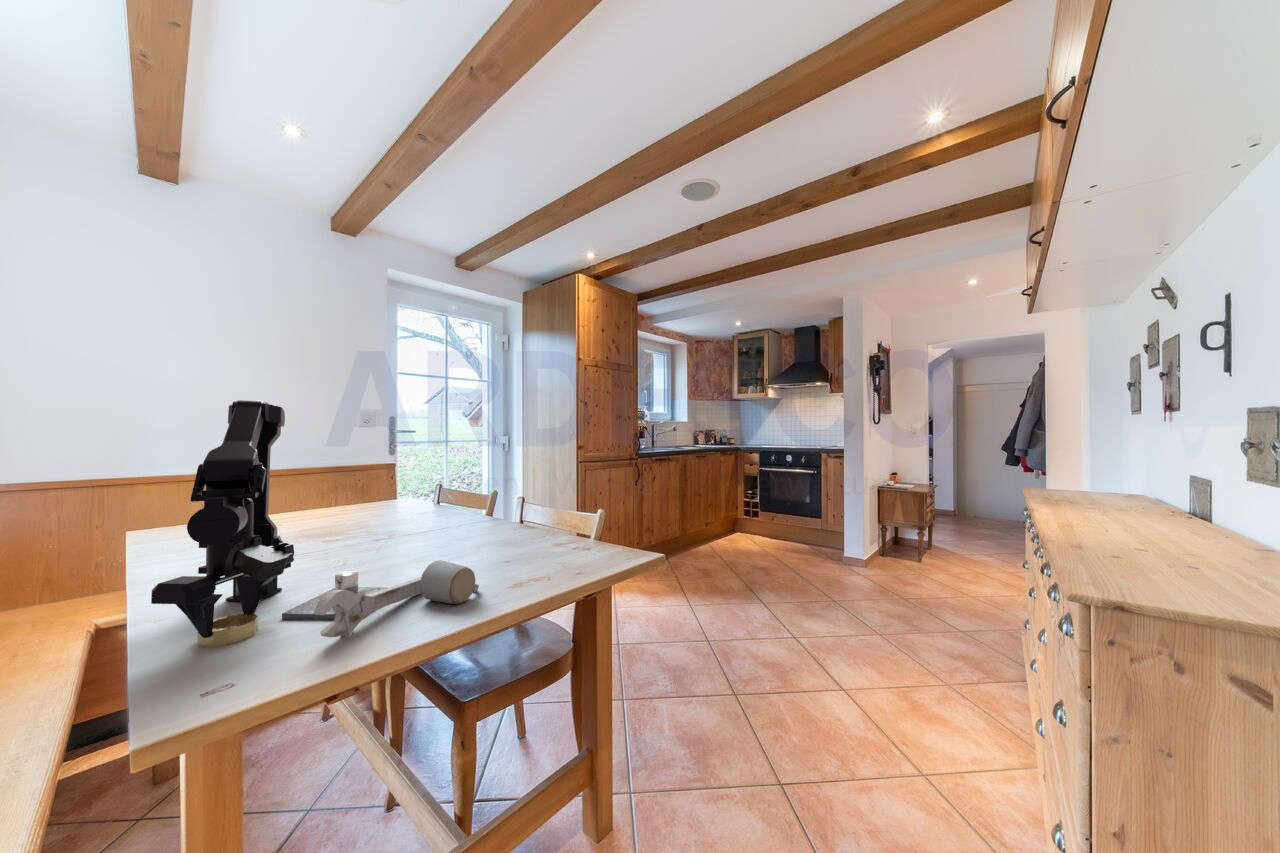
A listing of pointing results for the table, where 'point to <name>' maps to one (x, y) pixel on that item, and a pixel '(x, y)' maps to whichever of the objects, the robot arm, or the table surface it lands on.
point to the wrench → (360, 606)
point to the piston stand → (342, 582)
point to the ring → (230, 629)
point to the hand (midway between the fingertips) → (228, 627)
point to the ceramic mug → (447, 582)
